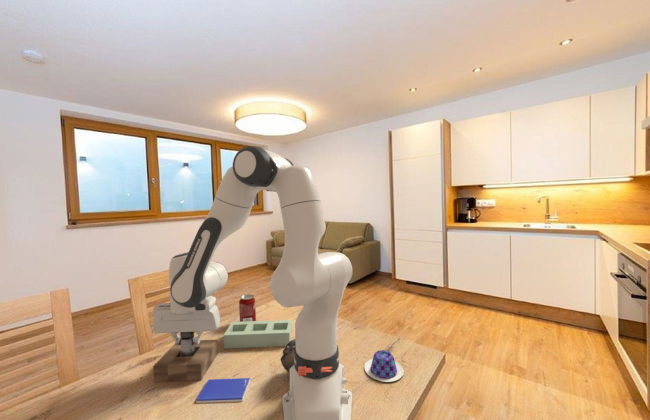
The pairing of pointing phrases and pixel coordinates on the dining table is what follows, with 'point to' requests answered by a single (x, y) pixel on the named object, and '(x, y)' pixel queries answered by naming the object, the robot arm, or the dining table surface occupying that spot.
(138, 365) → the dining table surface
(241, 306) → the soda can
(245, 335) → the tool rack
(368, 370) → the pudding
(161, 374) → the socket block
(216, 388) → the blue book
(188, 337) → the salt shaker
